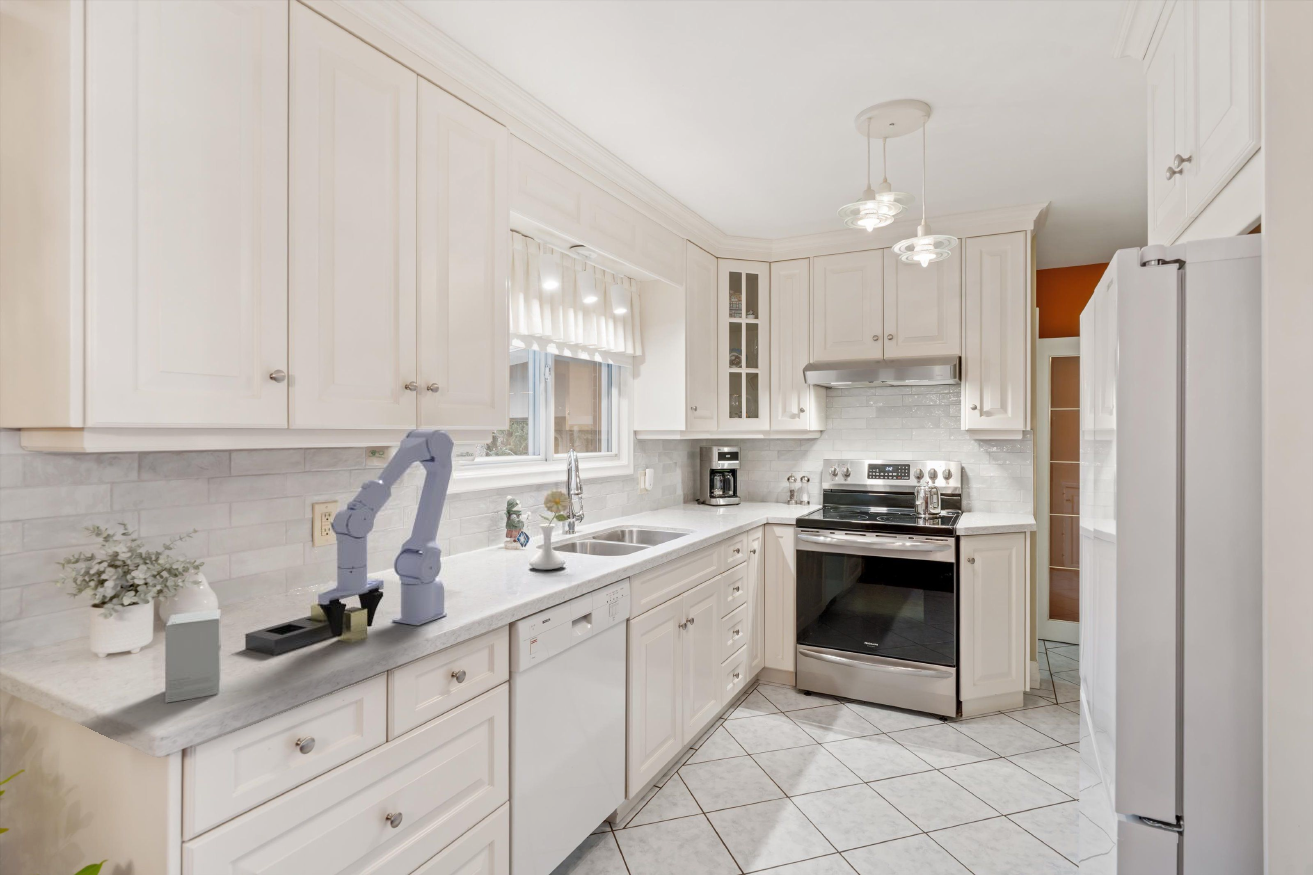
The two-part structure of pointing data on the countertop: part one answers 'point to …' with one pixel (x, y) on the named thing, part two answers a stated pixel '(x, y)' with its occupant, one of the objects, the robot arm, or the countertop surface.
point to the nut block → (354, 624)
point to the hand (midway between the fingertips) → (352, 630)
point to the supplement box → (192, 655)
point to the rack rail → (287, 636)
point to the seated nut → (318, 614)
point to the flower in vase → (547, 555)
